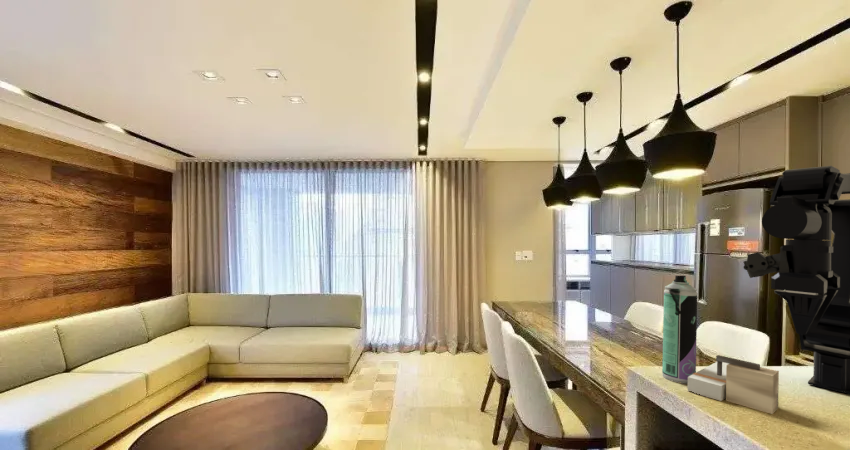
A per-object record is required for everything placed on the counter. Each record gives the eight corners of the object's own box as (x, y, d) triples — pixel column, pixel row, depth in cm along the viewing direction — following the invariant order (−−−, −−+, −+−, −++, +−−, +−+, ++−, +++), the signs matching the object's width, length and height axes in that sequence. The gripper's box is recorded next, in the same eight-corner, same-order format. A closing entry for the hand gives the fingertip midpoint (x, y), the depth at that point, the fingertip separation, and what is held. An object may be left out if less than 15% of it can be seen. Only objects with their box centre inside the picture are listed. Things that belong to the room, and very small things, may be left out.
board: (720, 371, 82) (720, 358, 82) (751, 379, 78) (751, 365, 78) (687, 391, 71) (687, 376, 71) (721, 401, 67) (721, 385, 67)
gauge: (720, 391, 71) (720, 353, 71) (778, 408, 65) (778, 366, 65) (712, 397, 69) (713, 357, 69) (772, 414, 62) (772, 370, 62)
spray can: (697, 385, 73) (699, 277, 74) (662, 379, 76) (664, 275, 76) (694, 377, 78) (696, 275, 78) (661, 371, 81) (664, 273, 81)
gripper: (761, 239, 81) (760, 316, 80) (733, 237, 69) (732, 327, 69) (840, 241, 72) (839, 327, 72) (823, 239, 60) (822, 342, 60)
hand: (806, 330), depth 68 cm, fingers open, 9 cm apart
